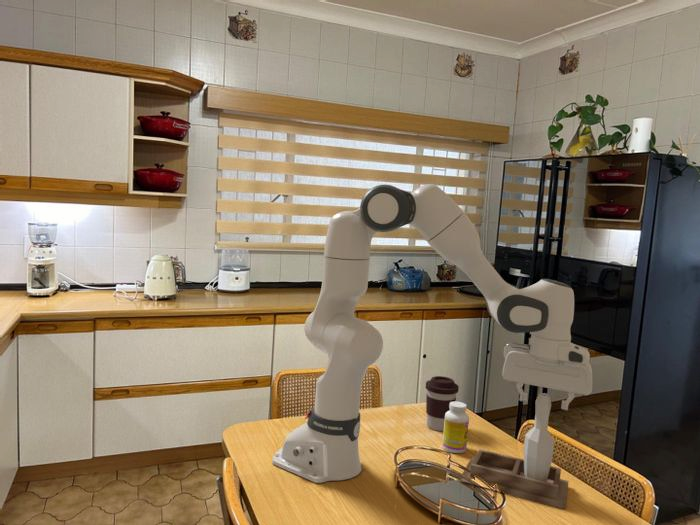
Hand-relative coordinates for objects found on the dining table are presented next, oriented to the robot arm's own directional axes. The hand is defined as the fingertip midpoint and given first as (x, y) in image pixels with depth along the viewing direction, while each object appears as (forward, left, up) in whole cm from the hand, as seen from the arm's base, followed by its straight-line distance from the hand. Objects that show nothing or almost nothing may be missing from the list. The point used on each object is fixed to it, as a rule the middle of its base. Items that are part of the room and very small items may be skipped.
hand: (543, 404), depth 131 cm
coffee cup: (-31, +25, -21) cm, 45 cm away
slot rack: (-5, 0, -21) cm, 22 cm away
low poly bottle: (0, 0, -20) cm, 20 cm away
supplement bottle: (-23, +12, -21) cm, 33 cm away
